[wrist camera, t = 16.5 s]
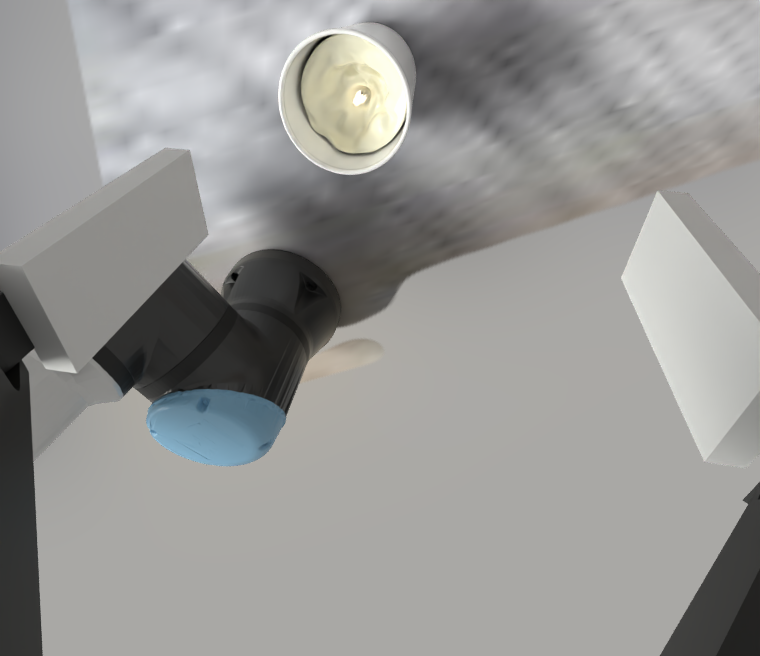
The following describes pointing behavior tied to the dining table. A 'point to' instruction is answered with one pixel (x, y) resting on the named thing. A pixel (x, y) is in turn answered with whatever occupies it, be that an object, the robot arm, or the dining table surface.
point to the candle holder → (348, 96)
